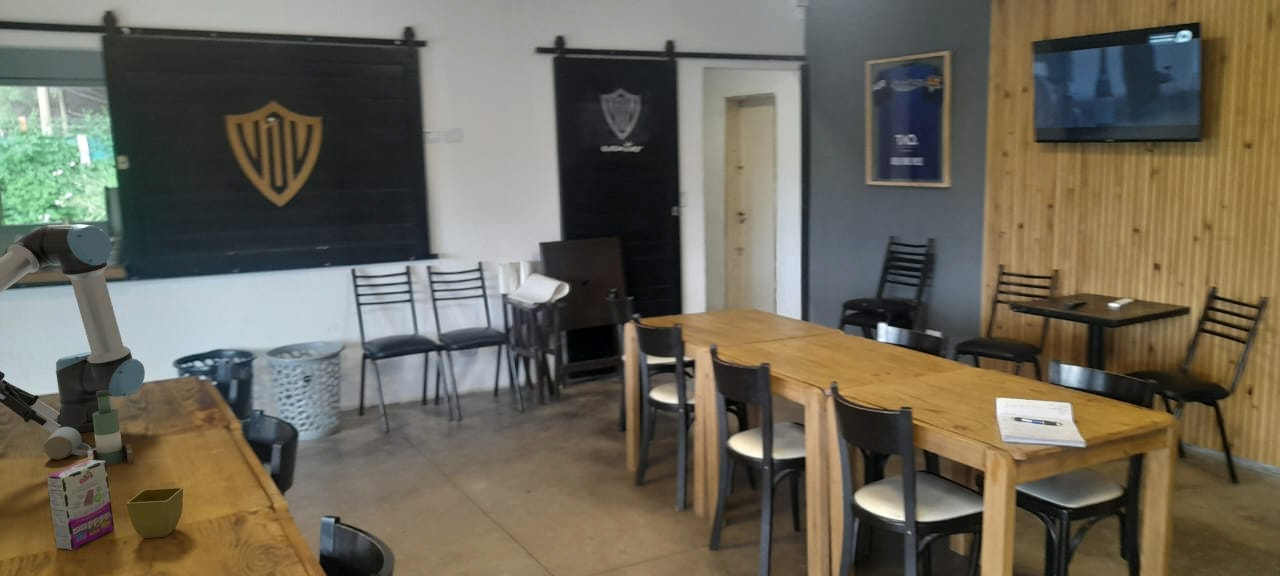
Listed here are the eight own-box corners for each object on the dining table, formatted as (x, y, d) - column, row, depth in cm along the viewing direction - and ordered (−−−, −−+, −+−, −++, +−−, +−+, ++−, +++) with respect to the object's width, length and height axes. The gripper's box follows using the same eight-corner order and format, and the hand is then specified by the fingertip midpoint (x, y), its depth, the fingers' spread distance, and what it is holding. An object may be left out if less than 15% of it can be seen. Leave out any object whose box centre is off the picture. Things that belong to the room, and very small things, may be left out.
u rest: (88, 460, 257) (87, 449, 256) (131, 453, 262) (130, 442, 261) (89, 470, 248) (88, 459, 247) (133, 463, 253) (132, 452, 253)
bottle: (105, 458, 258) (97, 388, 255) (127, 457, 258) (120, 388, 255) (93, 465, 252) (85, 394, 249) (116, 465, 252) (108, 393, 249)
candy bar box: (97, 528, 208) (89, 458, 206) (115, 530, 207) (107, 460, 204) (54, 549, 197) (45, 475, 195) (72, 551, 196) (63, 477, 194)
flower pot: (147, 526, 208) (143, 488, 207) (187, 524, 209) (183, 486, 208) (129, 543, 200) (125, 503, 198) (171, 540, 200) (167, 501, 199)
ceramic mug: (43, 462, 256) (40, 435, 254) (53, 453, 263) (50, 427, 262) (86, 458, 258) (84, 432, 257) (94, 450, 266) (92, 424, 265)
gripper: (-28, 379, 247) (46, 423, 257) (-35, 400, 226) (45, 447, 236) (-6, 357, 249) (66, 401, 259) (-11, 375, 228) (67, 423, 238)
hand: (56, 423), depth 248 cm, fingers open, 13 cm apart
